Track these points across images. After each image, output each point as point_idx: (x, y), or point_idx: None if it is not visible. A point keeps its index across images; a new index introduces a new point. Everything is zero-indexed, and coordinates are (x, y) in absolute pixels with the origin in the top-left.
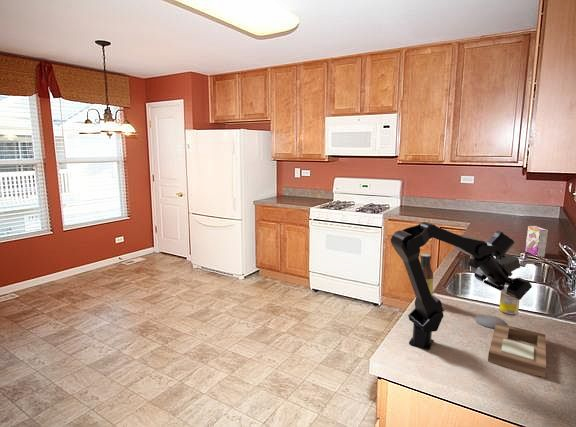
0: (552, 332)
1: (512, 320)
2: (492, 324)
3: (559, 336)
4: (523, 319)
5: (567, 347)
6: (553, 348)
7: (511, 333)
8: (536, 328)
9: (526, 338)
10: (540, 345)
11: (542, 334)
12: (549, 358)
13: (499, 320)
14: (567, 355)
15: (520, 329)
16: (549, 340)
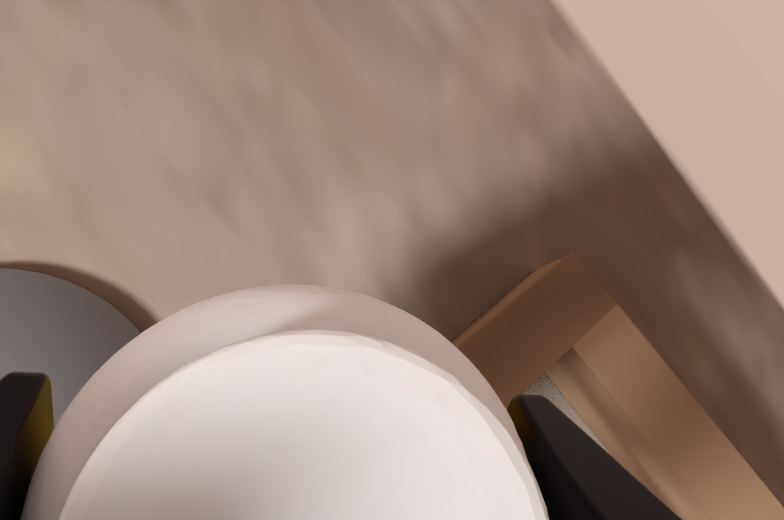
0: (399, 4)
1: (56, 142)
2: None
3: (473, 19)
4: (85, 4)
5: (631, 143)
6: (621, 276)
7: None
8: (292, 68)
9: None
10: (739, 516)
11: (567, 278)
12: None
13: (17, 324)
14: (726, 269)
15: None
16: (507, 175)
